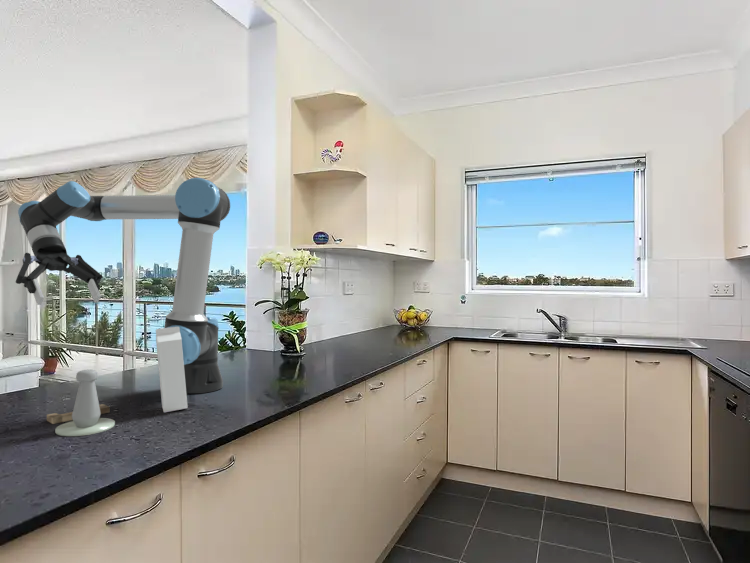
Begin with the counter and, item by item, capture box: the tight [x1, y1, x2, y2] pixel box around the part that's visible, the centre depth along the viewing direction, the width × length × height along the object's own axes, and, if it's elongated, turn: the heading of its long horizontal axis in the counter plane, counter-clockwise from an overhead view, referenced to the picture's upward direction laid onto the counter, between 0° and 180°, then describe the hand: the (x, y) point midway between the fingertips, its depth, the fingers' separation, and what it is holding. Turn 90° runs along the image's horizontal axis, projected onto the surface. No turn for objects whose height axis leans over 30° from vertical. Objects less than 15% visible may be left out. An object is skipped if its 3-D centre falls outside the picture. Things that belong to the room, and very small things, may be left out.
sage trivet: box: [54, 417, 116, 437], centre depth 112 cm, size 12×12×1 cm
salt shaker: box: [72, 369, 102, 428], centre depth 112 cm, size 6×6×13 cm
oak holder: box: [46, 403, 110, 425], centre depth 120 cm, size 4×13×2 cm, turn 143°
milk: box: [155, 327, 188, 413], centre depth 128 cm, size 6×6×22 cm
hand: (70, 300), depth 124 cm, fingers open, 13 cm apart
